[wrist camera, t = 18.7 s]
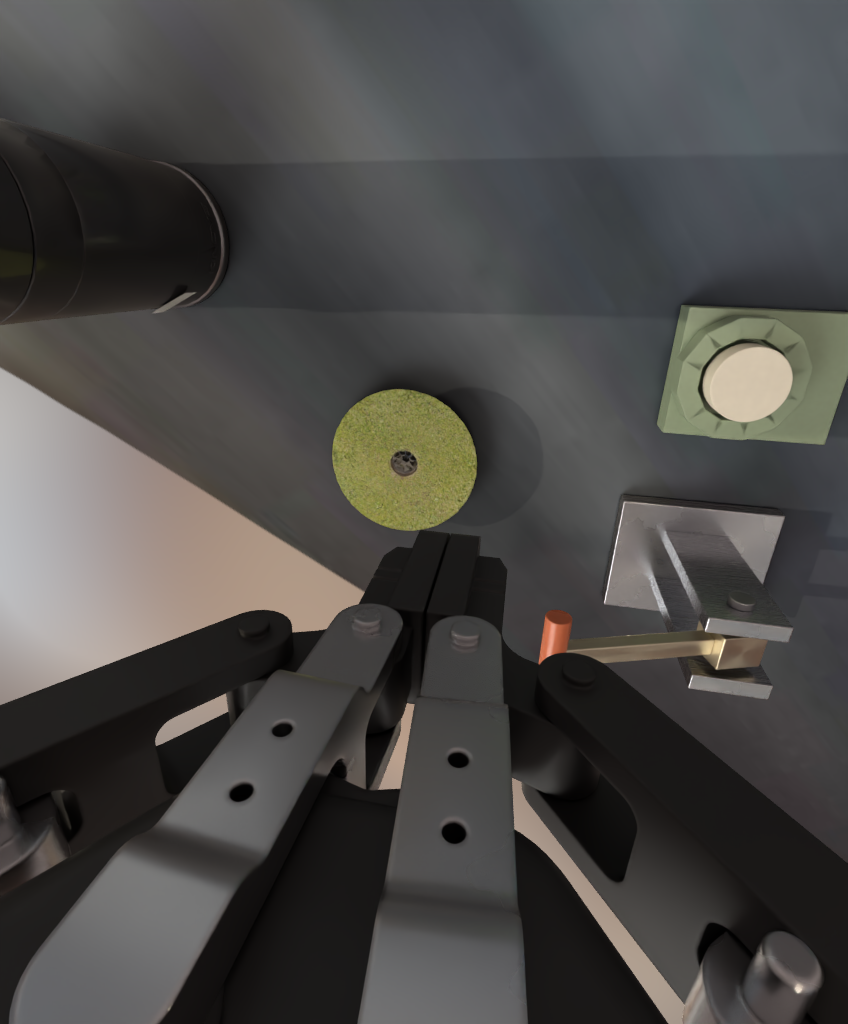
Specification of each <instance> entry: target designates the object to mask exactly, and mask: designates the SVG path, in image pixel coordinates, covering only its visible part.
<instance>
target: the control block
mask: <svg viewBox="0 0 848 1024" xmlns="http://www.w3.org/2000/svg"><path fill="white" fill-rule="evenodd" d="M743 343H754V344H759V345H763V346H766V347H769V348H771V349H774V350H776V351H778V352H780V353H781V354H782V355H783V356H784V357H785V358H786V359H787V360H788V362H789V364H790V366H791V369H792V374H793V381H792V386H791V390H790V392H789V394H788V396H787V398H786V400H785V401H784V402H783V404H782V405H781V406H780V407H779V408H778V409H777V410H776V411H774V412H773V413H771V414H770V415H768V416H766V417H764V418H762V419H759V420H756V421H751V422H737V421H732V420H729V419H727V418H725V417H724V416H722V415H721V414H719V413H718V412H717V411H716V410H714V409H713V408H712V407H711V406H710V405H709V404H708V402H707V401H706V399H705V397H704V394H703V388H702V384H703V377H704V374H705V372H706V369H707V368H708V366H709V364H710V363H711V362H712V360H713V359H714V358H715V357H716V356H717V355H719V354H720V353H721V352H723V351H724V350H726V349H728V348H730V347H732V346H735V345H738V344H743ZM847 376H848V312H838V311H814V310H791V309H768V308H745V307H722V306H698V305H681V310H680V315H679V319H678V324H677V329H676V334H675V339H674V344H673V348H672V353H671V358H670V363H669V368H668V372H667V377H666V382H665V387H664V392H663V397H662V401H661V406H660V411H659V416H658V421H657V425H658V426H659V428H660V429H661V430H662V432H664V433H676V434H689V435H702V436H709V437H711V438H720V439H733V440H746V439H754V440H767V441H780V442H794V443H807V444H820V445H824V444H825V441H826V438H827V435H828V432H829V429H830V427H831V424H832V421H833V418H834V415H835V412H836V409H837V406H838V403H839V400H840V397H841V394H842V391H843V388H844V385H845V382H846V379H847Z"/></svg>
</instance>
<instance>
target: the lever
mask: <svg viewBox="0 0 848 1024" xmlns="http://www.w3.org/2000/svg"><path fill="white" fill-rule="evenodd" d="M571 625H572V617H571V616H570V615H569V614H568V613H566V612H564V611H561V610H551V611H548V612H547V613H546V616H545V623H544V629H543V636H542V643H541V650H540V657H539V664H540V663H541V662H542V661H543V660H544V659H545V658H547V657H548V656H551V655H553V654H557V653H578V654H582V655H586V656H589V657H592V658H594V659H596V660H598V661H600V662H601V663H609V662H622V661H634V660H647V659H660V658H673V657H685V656H698V655H703V657H704V658H705V659H706V660H707V661H708V662H709V663H710V664H711V665H712V666H713V667H714V668H715V669H716V670H721V669H733V668H745V667H757V666H759V664H760V661H761V658H762V656H763V653H764V650H765V647H766V644H767V641H768V640H763V639H755V638H747V637H739V636H731V635H724V634H716V633H708V632H705V631H704V629H703V627H702V625H701V623H700V621H699V623H698V626H697V630H696V631H684V632H670V633H656V634H642V635H628V636H614V637H600V638H586V639H572V640H569V637H570V631H571Z"/></svg>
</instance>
